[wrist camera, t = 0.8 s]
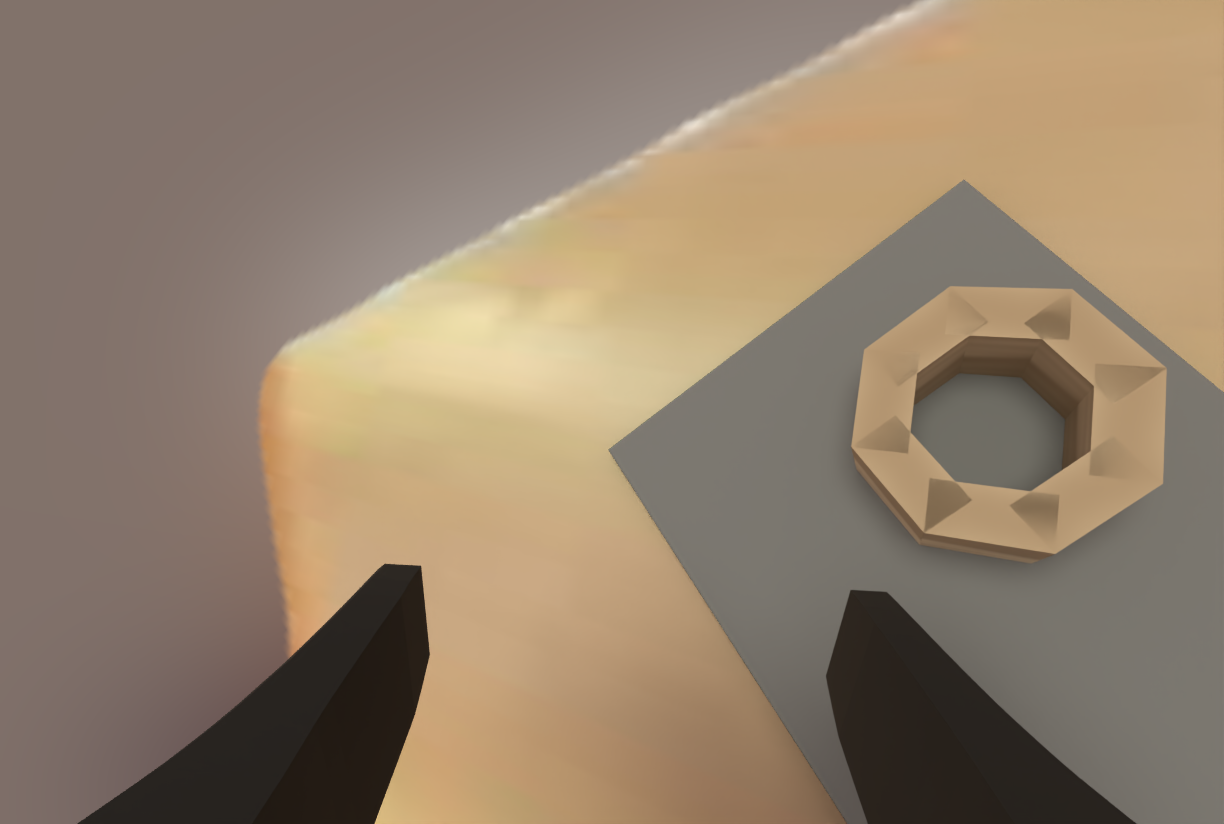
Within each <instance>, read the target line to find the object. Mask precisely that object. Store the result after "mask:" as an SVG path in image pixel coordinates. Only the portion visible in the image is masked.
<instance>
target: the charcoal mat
mask: <svg viewBox="0 0 1224 824" xmlns="http://www.w3.org/2000/svg"><path fill="white" fill-rule="evenodd" d="M950 286H962V287H1005V288H1048V289H1073V290H1074V291H1075V292H1076V293H1078V294H1079V295H1080V296H1081V297H1082V298H1084V299H1085V300H1086V301H1087V302H1088V303H1090V304H1091V305H1092V306H1093V307H1094V308H1096V309H1097V310H1098V311H1099V312H1100V313H1102V314H1103V315H1104V316H1105V317H1106V318H1107V319H1109V320H1110V321H1111V322H1112V323H1113V324H1115V325H1116V326H1117V327H1118V328H1119V329H1121V330H1122V331H1123V332H1124V333H1125V334H1127V335H1128V336H1129V337H1130V338H1131V339H1133V340H1134V341H1135V342H1136V343H1137V344H1139V345H1140V346H1141V347H1142V348H1143V349H1145V350H1146V351H1147V352H1148V353H1149V354H1150V355H1152V356H1153V357H1154V358H1155V359H1156V360H1158V361H1159V362H1160V363H1161V364H1162V365H1164V366H1165V367H1166V368H1167V374H1166V406H1165V438H1164V471H1163V484H1162V485H1160V486H1159V487H1157V488H1156V489H1154V490H1153V491H1151V492H1149V493H1148V494H1146V495H1145V496H1143V497H1142V498H1140V499H1139V500H1137V501H1136V502H1134V503H1133V504H1131V505H1130V506H1128V507H1127V508H1125V509H1123V510H1122V511H1120V512H1119V513H1117V514H1116V515H1114V516H1113V517H1111V518H1110V519H1108V520H1107V521H1105V522H1104V523H1102V524H1100V525H1099V526H1097V527H1096V528H1094V529H1093V530H1091V531H1090V532H1088V533H1087V534H1085V535H1084V536H1082V537H1081V538H1079V539H1078V540H1076V541H1074V542H1073V543H1071V544H1070V545H1068V546H1067V547H1065V548H1064V549H1062V550H1061V551H1059V552H1058V553H1056V554H1054V555H1052V556H1049V557H1047V558H1044V559H1042V560H1039V561H1037V562H1034V563H1032V564H1030V563H1024V562H1018V561H1013V560H1007V559H1001V558H995V557H989V556H983V555H977V554H971V553H965V552H959V551H953V550H947V549H941V548H935V547H929V546H923V545H919V544H918V542H917V541H916V540H915V539H914V538H913V536H912V535H911V534H910V533H909V532H908V530H907V529H906V528H905V527H904V526H903V524H902V523H901V522H900V521H899V520H898V519H897V517H896V516H895V515H894V514H893V513H892V511H891V510H890V509H889V508H888V507H887V505H886V504H885V503H884V502H883V501H882V499H881V498H880V497H879V496H878V495H877V493H876V492H875V491H874V490H873V489H872V487H871V486H870V485H869V484H868V483H867V481H866V480H865V479H864V478H863V477H862V475H861V474H860V473H859V472H858V471H857V470H856V466H855V461H854V457H853V453H852V448H851V445H852V437H853V430H854V422H855V415H856V407H857V400H858V392H859V385H860V377H861V370H862V362H863V354H864V349H866V348H867V347H868V346H870V345H871V344H872V343H874V342H875V341H877V340H878V339H879V338H881V337H882V336H883V335H885V334H886V333H887V332H889V331H890V330H891V329H893V328H894V327H896V326H897V325H898V324H900V323H901V322H902V321H904V320H905V319H906V318H908V317H909V316H911V315H912V314H913V313H915V312H916V311H917V310H919V309H920V308H921V307H923V306H924V305H925V304H927V303H928V302H930V301H931V300H932V299H934V298H935V297H936V296H938V295H939V294H940V293H942V292H943V291H944V290H946V289H947V288H949V287H950ZM1064 429H1065V419H1064V418H1063V417H1062V416H1061V415H1060V414H1059V413H1058V412H1057V411H1056V410H1055V409H1054V408H1053V407H1051V406H1050V405H1049V404H1048V403H1047V402H1046V401H1045V400H1044V399H1043V398H1042V397H1041V396H1040V395H1039V394H1038V393H1037V392H1036V391H1035V390H1034V389H1033V388H1031V387H1030V386H1029V385H1028V384H1027V383H1026V382H1025V381H1024V380H1023V379H1022V378H1019V377H1005V376H990V375H976V374H962V373H959V374H957V375H956V376H955V377H953V378H952V379H950V380H949V381H948V382H946V383H945V384H943V385H942V386H941V387H939V388H938V389H936V390H935V391H934V392H932V393H931V394H929V395H928V396H927V397H925V398H924V399H922V400H921V401H920V402H918V403H917V404H915V405H914V407H913V416H912V424H911V433H912V434H913V436H914V437H915V438H916V439H917V440H918V441H919V442H920V443H921V444H922V445H923V447H924V448H925V449H926V450H927V451H928V452H929V453H930V454H931V455H932V456H933V458H934V459H935V460H936V461H937V462H938V463H939V464H940V465H941V466H942V467H943V469H944V470H945V471H946V472H947V473H948V474H949V475H950V476H951V477H952V478H953V480H954V481H955V482H963V483H970V484H978V485H986V486H993V487H1001V488H1009V489H1016V490H1024V491H1032V490H1034V489H1035V488H1037V487H1038V486H1039V485H1041V484H1042V483H1044V482H1045V481H1047V480H1048V479H1050V478H1051V477H1053V476H1054V475H1056V474H1057V473H1059V472H1060V471H1062V460H1063V445H1064ZM609 452H610V453H611V455H612V456H613V458H614V459H615V461H616V463H617V464H618V466H619V467H620V469H621V470H622V472H623V473H624V475H625V477H626V478H627V480H628V481H629V483H630V484H631V486H632V488H633V489H634V491H635V492H636V494H637V495H638V497H639V498H640V500H641V502H642V503H643V505H644V506H645V508H646V509H647V511H648V513H649V514H650V516H651V517H652V519H653V520H654V522H655V524H656V525H657V527H658V528H659V530H660V531H661V533H662V534H663V536H664V538H665V539H666V541H667V542H668V544H669V545H670V547H671V549H672V550H673V552H674V553H675V555H676V556H677V558H678V560H679V561H680V563H681V564H682V566H683V567H684V569H685V570H686V572H687V574H688V575H689V577H690V578H691V580H692V581H693V583H694V585H695V586H696V588H697V589H698V591H699V592H700V594H701V595H702V597H703V599H704V600H705V602H706V603H707V605H708V606H709V608H710V610H711V611H712V613H713V614H714V616H715V617H716V619H717V621H718V622H719V624H720V625H721V627H722V628H723V630H724V631H725V633H726V635H727V636H728V638H729V639H730V641H731V642H732V644H733V646H734V647H735V649H736V650H737V652H738V653H739V655H740V656H741V658H742V660H743V661H744V663H745V664H746V666H747V667H748V669H749V671H750V672H751V674H752V675H753V677H754V678H755V680H756V682H757V683H758V685H759V686H760V688H761V689H762V691H763V692H764V694H765V696H766V697H767V699H768V700H769V702H770V703H771V705H772V707H773V708H774V710H775V711H776V713H777V714H778V716H779V718H780V719H781V721H782V722H783V724H784V725H785V727H786V728H787V730H788V732H789V733H790V735H791V736H792V738H793V739H794V741H795V743H796V744H797V746H798V747H799V749H800V750H801V752H802V753H803V755H804V757H805V758H806V760H807V761H808V763H809V764H810V766H811V768H812V769H813V771H814V772H815V774H816V775H817V777H818V779H819V780H820V782H821V783H822V785H823V786H824V788H825V789H826V791H827V793H828V794H829V796H830V797H831V799H832V800H833V802H834V804H835V805H836V807H837V808H838V810H839V811H840V813H841V814H842V816H843V818H844V819H845V821H846V822H847V824H868V823H867V820H866V817H865V814H864V811H863V809H862V806H861V803H860V800H859V797H858V794H857V791H856V788H855V785H854V782H853V779H852V776H851V773H850V770H849V767H848V764H847V761H846V758H845V755H844V752H843V749H842V746H841V743H840V740H839V737H838V732H837V728H836V723H835V719H834V714H833V710H832V705H831V700H830V695H829V690H828V685H827V680H826V674H827V670H828V667H829V663H830V660H831V656H832V653H833V649H834V646H835V642H836V639H837V635H838V632H839V628H840V625H841V621H842V618H843V614H844V611H845V607H846V604H847V600H848V597H849V593H850V590H864V591H882V592H888V593H889V594H890V595H891V596H892V597H893V598H894V599H895V600H896V601H897V602H898V603H899V604H900V605H901V606H902V607H903V609H904V610H905V611H906V612H907V613H908V614H909V615H910V616H911V617H912V618H913V619H914V620H915V621H916V622H917V623H918V624H919V625H920V626H921V627H922V628H923V629H924V630H925V631H926V632H927V633H928V635H929V636H930V637H931V638H932V639H933V640H934V641H935V642H936V643H937V644H938V645H939V646H940V647H941V648H942V649H943V650H944V651H945V652H946V653H947V654H948V655H949V656H950V657H951V658H952V659H953V660H954V661H955V662H956V663H957V664H958V665H959V666H960V667H961V668H962V669H963V670H964V671H965V672H966V673H967V674H968V675H969V676H970V677H971V678H972V679H973V680H974V681H975V682H976V683H977V684H978V685H979V686H980V687H981V688H982V689H983V690H984V691H985V692H986V693H987V694H988V695H989V696H990V697H991V698H992V699H993V700H994V701H995V702H996V703H997V704H998V705H999V706H1000V707H1001V708H1002V709H1003V710H1005V711H1006V712H1007V713H1008V714H1009V715H1010V716H1011V717H1012V718H1013V719H1014V720H1015V721H1016V722H1017V723H1018V724H1019V725H1021V726H1022V727H1023V728H1024V729H1025V730H1026V731H1027V732H1028V733H1029V734H1031V735H1032V736H1033V737H1034V738H1035V739H1036V740H1037V741H1038V742H1039V743H1040V744H1042V745H1043V746H1044V747H1045V748H1046V749H1047V750H1048V751H1049V752H1050V753H1052V754H1053V755H1054V756H1055V757H1056V758H1057V759H1058V760H1059V761H1061V762H1062V763H1063V764H1064V765H1065V766H1066V767H1068V768H1069V769H1070V770H1071V771H1072V772H1074V773H1075V774H1076V775H1077V776H1078V777H1079V778H1081V779H1082V780H1083V781H1084V782H1086V783H1087V784H1088V785H1089V786H1091V787H1092V788H1093V789H1094V790H1095V791H1097V792H1098V793H1099V794H1100V795H1102V796H1103V797H1104V798H1105V799H1107V800H1108V801H1109V802H1110V803H1111V804H1113V805H1114V806H1115V807H1116V808H1118V809H1119V810H1120V811H1121V812H1123V813H1124V814H1125V815H1126V816H1128V817H1129V818H1130V819H1131V820H1133V821H1134V822H1135V823H1137V824H1224V392H1222V391H1221V390H1220V389H1219V388H1218V387H1216V386H1215V385H1214V384H1213V383H1211V382H1210V381H1209V380H1208V379H1207V378H1205V377H1204V376H1203V375H1202V374H1200V373H1199V372H1198V371H1197V370H1196V369H1194V368H1193V367H1192V366H1191V365H1189V364H1188V363H1187V362H1186V361H1185V360H1183V359H1182V358H1181V357H1180V356H1179V355H1177V354H1176V353H1175V352H1174V351H1172V350H1171V349H1170V348H1169V347H1168V346H1166V345H1165V344H1164V343H1163V342H1161V341H1160V340H1159V339H1158V338H1157V337H1155V336H1154V335H1153V334H1152V333H1150V332H1149V331H1148V330H1147V329H1146V328H1144V327H1143V326H1142V325H1141V324H1139V323H1138V322H1137V321H1136V320H1135V319H1133V318H1132V317H1131V316H1130V315H1129V314H1127V313H1126V312H1125V311H1124V310H1122V309H1121V308H1120V307H1119V306H1118V305H1116V304H1115V303H1114V302H1113V301H1111V300H1110V299H1109V298H1108V297H1107V296H1105V295H1104V294H1103V293H1102V292H1100V291H1099V290H1098V289H1097V288H1096V287H1094V286H1093V285H1092V284H1091V283H1089V282H1088V281H1087V280H1086V279H1085V278H1083V277H1082V276H1081V275H1080V274H1079V273H1077V272H1076V271H1075V270H1074V269H1072V268H1071V267H1070V266H1069V265H1068V264H1066V263H1065V262H1064V261H1063V260H1061V259H1060V258H1059V257H1058V256H1057V255H1055V254H1054V253H1053V252H1052V251H1050V250H1049V249H1048V248H1047V247H1046V246H1044V245H1043V244H1042V243H1041V242H1039V241H1038V240H1037V239H1036V238H1035V237H1033V236H1032V235H1031V234H1030V233H1029V232H1027V231H1026V230H1025V229H1024V228H1022V227H1021V226H1020V225H1019V224H1018V223H1016V222H1015V221H1014V220H1013V219H1011V218H1010V217H1009V216H1008V215H1007V214H1005V213H1004V212H1003V211H1002V210H1000V209H999V208H998V207H997V206H996V205H994V204H993V203H992V202H991V201H989V200H988V199H987V198H986V197H985V196H983V195H982V194H981V193H980V192H979V191H977V190H976V189H975V188H974V187H972V186H971V185H970V184H969V183H968V182H966V181H965V180H963V181H962V182H960V183H959V184H958V185H956V186H955V187H954V188H952V189H951V190H950V191H948V192H947V193H946V194H944V195H943V196H942V197H940V198H939V199H938V200H936V201H935V202H934V203H933V204H931V205H930V206H929V207H927V208H926V209H925V210H923V211H922V212H921V213H919V214H918V215H917V216H915V217H914V218H913V219H911V220H910V221H909V222H908V223H906V224H905V225H904V226H902V227H901V228H900V229H898V230H897V231H896V232H894V233H893V234H892V235H890V236H889V237H888V238H886V239H885V240H884V241H882V242H881V243H880V244H879V245H877V246H876V247H875V248H873V249H872V250H871V251H869V252H868V253H867V254H865V255H864V256H863V257H861V258H860V259H859V260H857V261H856V262H855V263H854V264H852V265H851V266H850V267H848V268H847V269H846V270H844V271H843V272H842V273H840V274H839V275H838V276H836V277H835V278H834V279H832V280H831V281H830V282H828V283H827V284H826V285H825V286H823V287H822V288H821V289H819V290H818V291H817V292H815V293H814V294H813V295H811V296H810V297H809V298H807V299H806V300H805V301H803V302H802V303H801V304H800V305H798V306H797V307H796V308H794V309H793V310H792V311H790V312H789V313H788V314H786V315H785V316H784V317H782V318H781V319H780V320H778V321H777V322H776V323H774V324H773V325H772V326H771V327H769V328H768V329H767V330H765V331H764V332H763V333H761V334H760V335H759V336H757V337H756V338H755V339H753V340H752V341H751V342H749V343H748V344H747V345H746V346H744V347H743V348H742V349H740V350H739V351H738V352H736V353H735V354H734V355H732V356H731V357H730V358H728V359H727V360H726V361H724V362H723V363H722V364H721V365H719V366H718V367H717V368H715V369H714V370H713V371H711V372H710V373H709V374H707V375H706V376H705V377H703V378H702V379H701V380H699V381H698V382H697V383H695V384H694V385H693V386H692V387H690V388H689V389H688V390H686V391H685V392H684V393H682V394H681V395H680V396H678V397H677V398H676V399H674V400H673V401H672V402H670V403H669V404H668V405H667V406H665V407H664V408H663V409H661V410H660V411H659V412H657V413H656V414H655V415H653V416H652V417H651V418H649V419H648V420H647V421H645V422H644V423H643V424H641V425H640V426H639V427H638V428H636V429H635V430H634V431H632V432H631V433H630V434H628V435H627V436H626V437H624V438H623V439H622V440H620V441H619V442H618V443H616V444H615V445H614V446H613V447H611V448H610V449H609Z"/></svg>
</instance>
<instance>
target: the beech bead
mask: <svg viewBox="0 0 1224 824" xmlns="http://www.w3.org/2000/svg"><path fill="white" fill-rule="evenodd" d="M959 373H962V374H976V375H990V376H1005V377H1019V378H1022V379H1023V380H1024V381H1025V382H1026V383H1027V384H1028V385H1029V386H1030V387H1031V388H1033V389H1034V390H1035V391H1036V392H1037V393H1038V394H1039V395H1040V396H1041V397H1042V398H1043V399H1044V400H1045V401H1046V402H1047V403H1048V404H1049V405H1050V406H1051V407H1053V408H1054V409H1055V410H1056V411H1057V412H1058V413H1059V414H1060V415H1061V416H1062V417H1063V418H1064V419H1065V429H1064V445H1063V460H1062V471H1060V472H1059V473H1057V474H1056V475H1054V476H1053V477H1051V478H1050V479H1048V480H1047V481H1045V482H1044V483H1042V484H1041V485H1039V486H1038V487H1037V488H1035V489H1034V490H1032V491H1024V490H1016V489H1009V488H1001V487H993V486H986V485H978V484H970V483H963V482H955V481H954V480H953V478H952V477H951V476H950V475H949V474H948V473H947V472H946V471H945V470H944V469H943V467H942V466H941V465H940V464H939V463H938V462H937V461H936V460H935V459H934V458H933V456H932V455H931V454H930V453H929V452H928V451H927V450H926V449H925V448H924V447H923V445H922V444H921V443H920V442H919V441H918V440H917V439H916V438H915V437H914V436H913V434H912V433H911V424H912V416H913V407H914V405H915V404H917V403H918V402H920V401H921V400H922V399H924V398H925V397H927V396H928V395H929V394H931V393H932V392H934V391H935V390H936V389H938V388H939V387H941V386H942V385H943V384H945V383H946V382H948V381H949V380H950V379H952V378H953V377H955V376H956V375H957V374H959ZM1166 374H1167V368H1166V367H1165V366H1164V365H1162V364H1161V363H1160V362H1159V361H1158V360H1156V359H1155V358H1154V357H1153V356H1152V355H1150V354H1149V353H1148V352H1147V351H1146V350H1145V349H1143V348H1142V347H1141V346H1140V345H1139V344H1137V343H1136V342H1135V341H1134V340H1133V339H1131V338H1130V337H1129V336H1128V335H1127V334H1125V333H1124V332H1123V331H1122V330H1121V329H1119V328H1118V327H1117V326H1116V325H1115V324H1113V323H1112V322H1111V321H1110V320H1109V319H1107V318H1106V317H1105V316H1104V315H1103V314H1102V313H1100V312H1099V311H1098V310H1097V309H1096V308H1094V307H1093V306H1092V305H1091V304H1090V303H1088V302H1087V301H1086V300H1085V299H1084V298H1082V297H1081V296H1080V295H1079V294H1078V293H1076V292H1075V291H1074V290H1073V289H1048V288H1005V287H962V286H950V287H949V288H947V289H946V290H944V291H943V292H942V293H940V294H939V295H938V296H936V297H935V298H934V299H932V300H931V301H930V302H928V303H927V304H925V305H924V306H923V307H921V308H920V309H919V310H917V311H916V312H915V313H913V314H912V315H911V316H909V317H908V318H906V319H905V320H904V321H902V322H901V323H900V324H898V325H897V326H896V327H894V328H893V329H891V330H890V331H889V332H887V333H886V334H885V335H883V336H882V337H881V338H879V339H878V340H877V341H875V342H874V343H872V344H871V345H870V346H868V347H867V348H866V349H864V354H863V362H862V370H861V377H860V385H859V392H858V400H857V407H856V415H855V422H854V430H853V437H852V445H851V448H852V453H853V457H854V461H855V466H856V470H857V471H858V472H859V473H860V474H861V475H862V477H863V478H864V479H865V480H866V481H867V483H868V484H869V485H870V486H871V487H872V489H873V490H874V491H875V492H876V493H877V495H878V496H879V497H880V498H881V499H882V501H883V502H884V503H885V504H886V505H887V507H888V508H889V509H890V510H891V511H892V513H893V514H894V515H895V516H896V517H897V519H898V520H899V521H900V522H901V523H902V524H903V526H904V527H905V528H906V529H907V530H908V532H909V533H910V534H911V535H912V536H913V538H914V539H915V540H916V541H917V542H918V544H919V545H923V546H929V547H935V548H941V549H947V550H953V551H959V552H965V553H971V554H977V555H983V556H989V557H995V558H1001V559H1007V560H1013V561H1018V562H1024V563H1030V564H1032V563H1034V562H1037V561H1039V560H1042V559H1044V558H1047V557H1049V556H1052V555H1054V554H1056V553H1058V552H1059V551H1061V550H1062V549H1064V548H1065V547H1067V546H1068V545H1070V544H1071V543H1073V542H1074V541H1076V540H1078V539H1079V538H1081V537H1082V536H1084V535H1085V534H1087V533H1088V532H1090V531H1091V530H1093V529H1094V528H1096V527H1097V526H1099V525H1100V524H1102V523H1104V522H1105V521H1107V520H1108V519H1110V518H1111V517H1113V516H1114V515H1116V514H1117V513H1119V512H1120V511H1122V510H1123V509H1125V508H1127V507H1128V506H1130V505H1131V504H1133V503H1134V502H1136V501H1137V500H1139V499H1140V498H1142V497H1143V496H1145V495H1146V494H1148V493H1149V492H1151V491H1153V490H1154V489H1156V488H1157V487H1159V486H1160V485H1162V484H1163V471H1164V438H1165V406H1166Z"/></svg>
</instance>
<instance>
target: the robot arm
mask: <svg viewBox="0 0 1224 824" xmlns="http://www.w3.org/2000/svg"><path fill="white" fill-rule="evenodd" d="M429 656H430V652H429V642H428V632H427V622H426V611H425V601H424V591H423V581H422V571H421V566H413V565H395V564H384V565H383V566H382V567H380V568H379V569H378V570H377V571H376V572H375V573H374V574H373V575H372V576H371V577H370V578H369V579H368V580H367V581H366V582H365V583H364V584H363V586H362V587H361V588H360V589H359V590H358V591H357V592H356V593H355V594H354V595H353V596H352V597H351V598H350V599H349V600H348V601H347V602H346V603H345V604H344V605H343V606H342V607H341V608H340V609H339V610H338V611H337V612H336V613H335V614H334V615H333V616H332V617H331V618H330V619H329V620H328V621H327V622H326V623H325V624H324V625H323V626H322V627H321V628H320V629H319V630H318V631H317V632H316V633H315V634H314V635H313V636H312V637H311V638H310V639H309V640H308V641H307V642H306V643H305V644H304V645H303V646H302V647H301V648H300V649H299V650H298V651H297V652H295V653H294V654H293V655H292V656H291V657H290V658H289V659H288V660H287V661H286V662H285V663H284V664H283V665H282V666H281V667H280V668H279V669H277V670H276V671H275V672H274V673H273V674H272V675H271V676H269V678H267V679H266V680H265V681H264V682H263V683H262V684H260V685H259V686H258V687H257V688H256V689H255V690H254V691H253V692H251V694H249V695H248V696H247V697H246V698H245V699H244V700H242V701H241V702H240V703H239V704H238V705H237V706H235V707H234V708H233V709H232V710H231V711H230V712H228V713H227V714H226V715H225V716H223V717H222V718H221V719H220V720H219V721H217V722H216V723H215V724H214V725H213V726H211V727H210V728H209V729H208V730H206V731H205V732H204V733H203V734H201V735H200V736H199V737H198V738H196V739H195V740H194V741H192V742H191V743H190V744H188V746H186V747H185V748H183V749H182V750H181V751H179V752H178V753H177V754H176V755H174V756H173V757H172V758H170V759H169V760H168V761H166V762H165V763H164V764H162V765H161V766H159V767H158V768H157V769H155V770H154V771H152V772H151V773H150V774H148V775H147V776H145V777H144V778H143V779H141V780H140V781H139V782H137V783H136V784H134V785H133V786H131V787H130V788H128V789H127V790H126V791H124V792H123V793H121V794H120V795H119V796H117V797H115V798H114V799H113V800H111V801H110V802H108V803H107V804H105V805H104V806H102V807H101V808H99V809H98V810H97V811H95V812H94V813H92V814H91V815H89V816H88V817H86V818H85V819H84V820H82V821H81V822H79V823H78V824H374V823H375V821H376V818H377V815H378V813H379V810H380V807H381V805H382V802H383V799H384V797H385V794H386V791H387V789H388V786H389V783H390V781H391V778H392V775H393V773H394V770H395V767H396V765H397V762H398V759H399V756H400V754H401V751H402V748H403V746H404V743H405V740H406V737H407V735H408V732H409V729H410V727H411V724H412V721H413V718H414V715H415V712H416V708H417V704H418V701H419V697H420V693H421V689H422V685H423V681H424V676H425V672H426V668H427V664H428V660H429ZM826 680H827V685H828V690H829V695H830V700H831V705H832V710H833V714H834V719H835V723H836V728H837V732H838V737H839V740H840V743H841V746H842V749H843V752H844V755H845V758H846V761H847V764H848V767H849V770H850V773H851V776H852V779H853V782H854V785H855V788H856V791H857V794H858V797H859V800H860V803H861V806H862V809H863V811H864V814H865V817H866V820H867V823H868V824H1137V823H1135V822H1134V821H1133V820H1131V819H1130V818H1129V817H1128V816H1126V815H1125V814H1124V813H1123V812H1121V811H1120V810H1119V809H1118V808H1116V807H1115V806H1114V805H1113V804H1111V803H1110V802H1109V801H1108V800H1107V799H1105V798H1104V797H1103V796H1102V795H1100V794H1099V793H1098V792H1097V791H1095V790H1094V789H1093V788H1092V787H1091V786H1089V785H1088V784H1087V783H1086V782H1084V781H1083V780H1082V779H1081V778H1079V777H1078V776H1077V775H1076V774H1075V773H1074V772H1072V771H1071V770H1070V769H1069V768H1068V767H1066V766H1065V765H1064V764H1063V763H1062V762H1061V761H1059V760H1058V759H1057V758H1056V757H1055V756H1054V755H1053V754H1052V753H1050V752H1049V751H1048V750H1047V749H1046V748H1045V747H1044V746H1043V745H1042V744H1040V743H1039V742H1038V741H1037V740H1036V739H1035V738H1034V737H1033V736H1032V735H1031V734H1029V733H1028V732H1027V731H1026V730H1025V729H1024V728H1023V727H1022V726H1021V725H1019V724H1018V723H1017V722H1016V721H1015V720H1014V719H1013V718H1012V717H1011V716H1010V715H1009V714H1008V713H1007V712H1006V711H1005V710H1003V709H1002V708H1001V707H1000V706H999V705H998V704H997V703H996V702H995V701H994V700H993V699H992V698H991V697H990V696H989V695H988V694H987V693H986V692H985V691H984V690H983V689H982V688H981V687H980V686H979V685H978V684H977V683H976V682H975V681H974V680H973V679H972V678H971V677H970V676H969V675H968V674H967V673H966V672H965V671H964V670H963V669H962V668H961V667H960V666H959V665H958V664H957V663H956V662H955V661H954V660H953V659H952V658H951V657H950V656H949V655H948V654H947V653H946V652H945V651H944V650H943V649H942V648H941V647H940V646H939V645H938V644H937V643H936V642H935V641H934V640H933V639H932V638H931V637H930V636H929V635H928V633H927V632H926V631H925V630H924V629H923V628H922V627H921V626H920V625H919V624H918V623H917V622H916V621H915V620H914V619H913V618H912V617H911V616H910V615H909V614H908V613H907V612H906V611H905V610H904V609H903V607H902V606H901V605H900V604H899V603H898V602H897V601H896V600H895V599H894V598H893V597H892V596H891V595H890V594H889V593H888V592H882V591H864V590H850V593H849V597H848V600H847V604H846V607H845V611H844V614H843V618H842V621H841V625H840V628H839V632H838V635H837V639H836V642H835V646H834V649H833V653H832V656H831V660H830V663H829V667H828V670H827V674H826Z"/></svg>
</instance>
